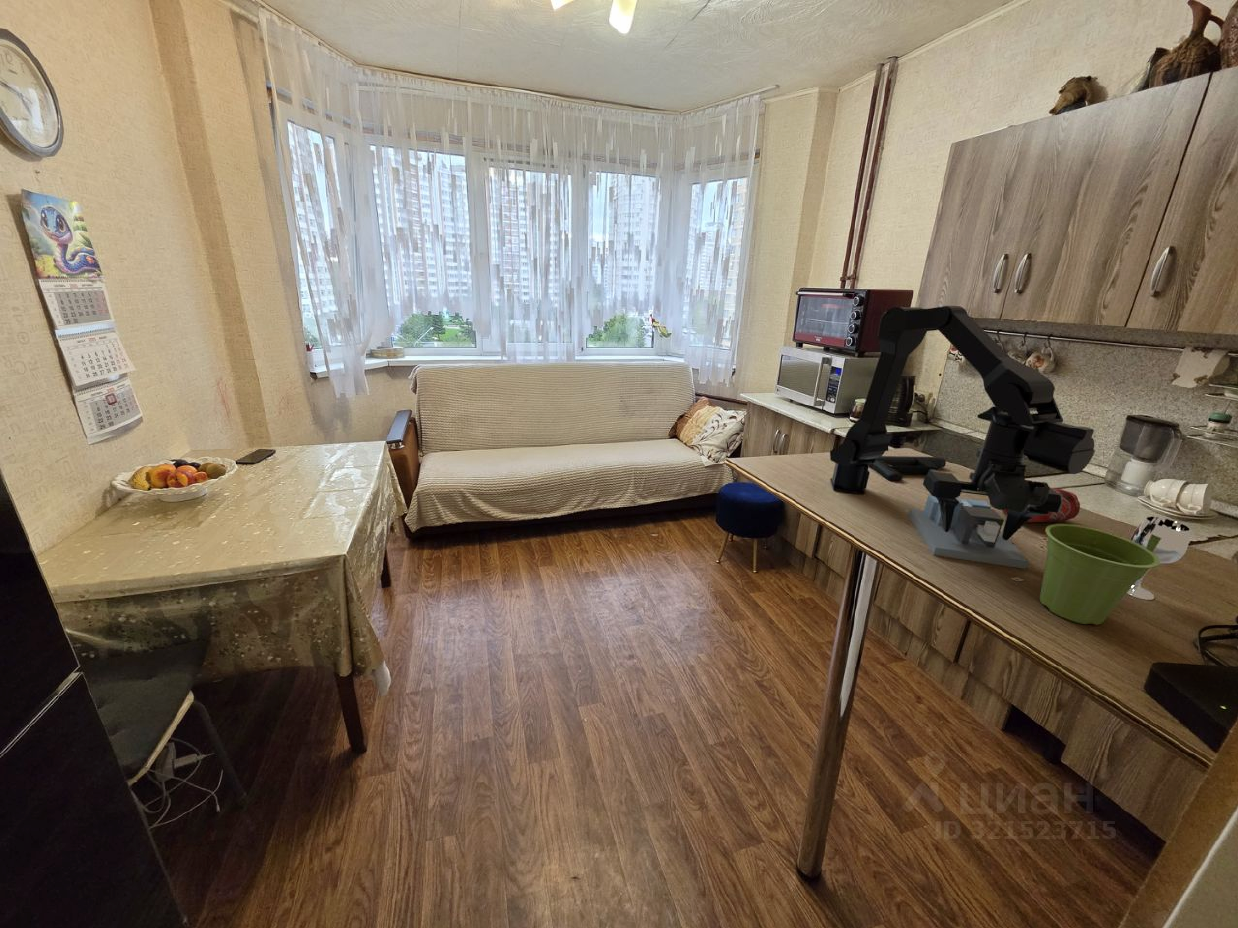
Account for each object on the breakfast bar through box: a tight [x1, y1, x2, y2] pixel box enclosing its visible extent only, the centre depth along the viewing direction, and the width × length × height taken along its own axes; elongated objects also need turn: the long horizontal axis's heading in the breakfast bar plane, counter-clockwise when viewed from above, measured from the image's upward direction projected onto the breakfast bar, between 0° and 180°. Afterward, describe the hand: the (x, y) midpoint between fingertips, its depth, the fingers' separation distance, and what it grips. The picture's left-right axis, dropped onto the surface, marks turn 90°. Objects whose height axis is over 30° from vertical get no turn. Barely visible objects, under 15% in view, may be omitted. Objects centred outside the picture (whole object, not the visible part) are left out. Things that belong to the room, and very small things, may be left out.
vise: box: [907, 494, 1029, 570], centre depth 90 cm, size 14×17×8 cm
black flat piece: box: [868, 455, 947, 482], centre depth 122 cm, size 3×20×16 cm
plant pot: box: [1039, 523, 1161, 625], centre depth 71 cm, size 12×12×11 cm
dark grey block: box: [953, 506, 1005, 548], centre depth 86 cm, size 5×4×6 cm
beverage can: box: [1001, 488, 1081, 523], centre depth 100 cm, size 7×12×7 cm, turn 95°
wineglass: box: [1125, 516, 1191, 601], centre depth 76 cm, size 6×6×12 cm
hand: (974, 535), depth 87 cm, fingers open, 9 cm apart
